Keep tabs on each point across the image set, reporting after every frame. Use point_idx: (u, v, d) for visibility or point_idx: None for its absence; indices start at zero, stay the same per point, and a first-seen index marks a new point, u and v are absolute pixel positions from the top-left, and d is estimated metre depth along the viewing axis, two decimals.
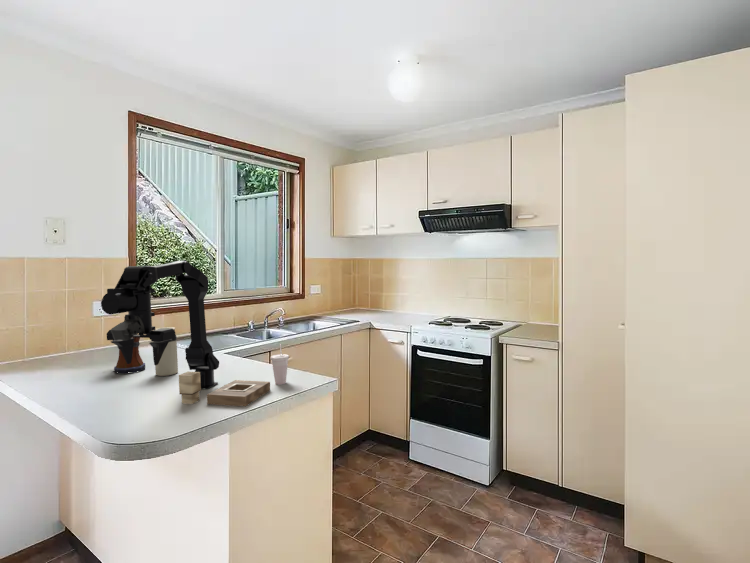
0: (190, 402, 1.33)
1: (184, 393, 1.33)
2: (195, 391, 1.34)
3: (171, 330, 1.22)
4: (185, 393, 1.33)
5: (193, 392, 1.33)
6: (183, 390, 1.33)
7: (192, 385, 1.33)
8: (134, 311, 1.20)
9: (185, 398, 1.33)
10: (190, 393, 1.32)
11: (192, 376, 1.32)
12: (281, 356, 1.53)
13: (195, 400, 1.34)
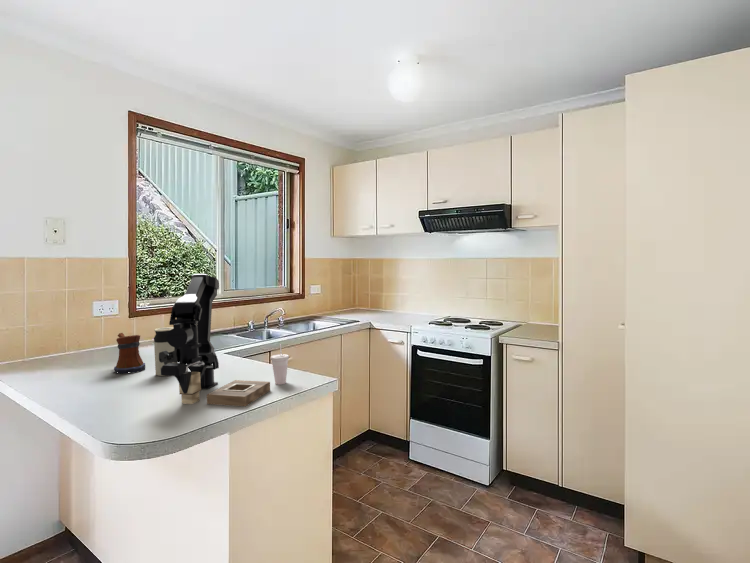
0: (190, 402, 1.33)
1: (184, 393, 1.33)
2: (195, 391, 1.34)
3: (172, 367, 1.25)
4: (185, 393, 1.33)
5: (193, 392, 1.33)
6: None
7: (192, 385, 1.33)
8: None
9: (185, 398, 1.33)
10: (190, 393, 1.32)
11: (192, 376, 1.32)
12: (281, 356, 1.53)
13: (195, 400, 1.34)
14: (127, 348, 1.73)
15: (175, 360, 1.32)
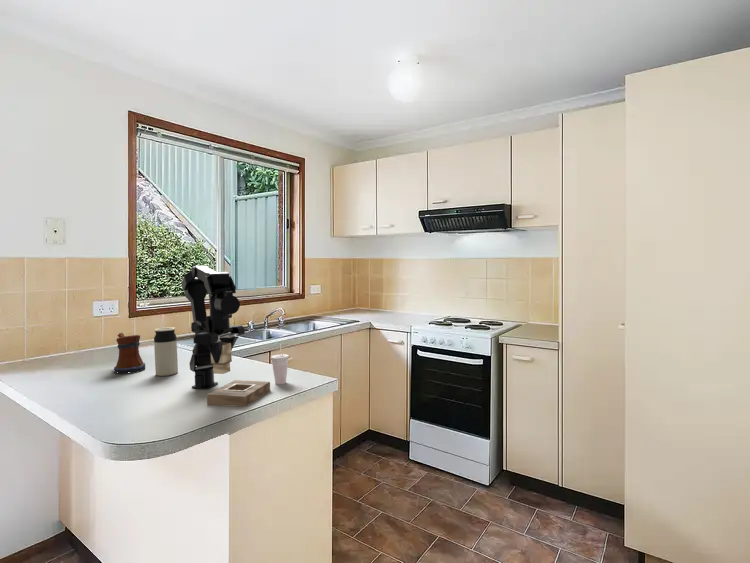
0: (221, 372, 1.35)
1: (216, 363, 1.35)
2: (226, 361, 1.35)
3: (204, 335, 1.27)
4: (217, 363, 1.34)
5: (224, 362, 1.35)
6: None
7: (224, 355, 1.34)
8: None
9: (217, 368, 1.35)
10: (221, 363, 1.34)
11: (223, 346, 1.34)
12: (281, 356, 1.53)
13: (226, 370, 1.36)
14: (127, 348, 1.73)
15: (207, 330, 1.34)
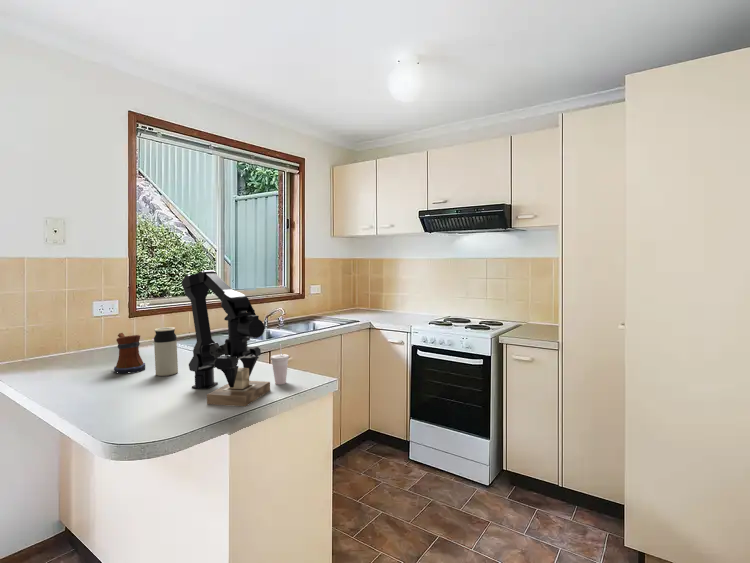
0: None
1: (234, 388, 1.37)
2: (245, 386, 1.38)
3: (225, 359, 1.29)
4: (235, 388, 1.36)
5: (243, 387, 1.37)
6: None
7: (242, 380, 1.36)
8: None
9: None
10: (240, 388, 1.36)
11: (242, 372, 1.36)
12: (281, 356, 1.53)
13: None
14: (127, 348, 1.73)
15: (226, 353, 1.36)
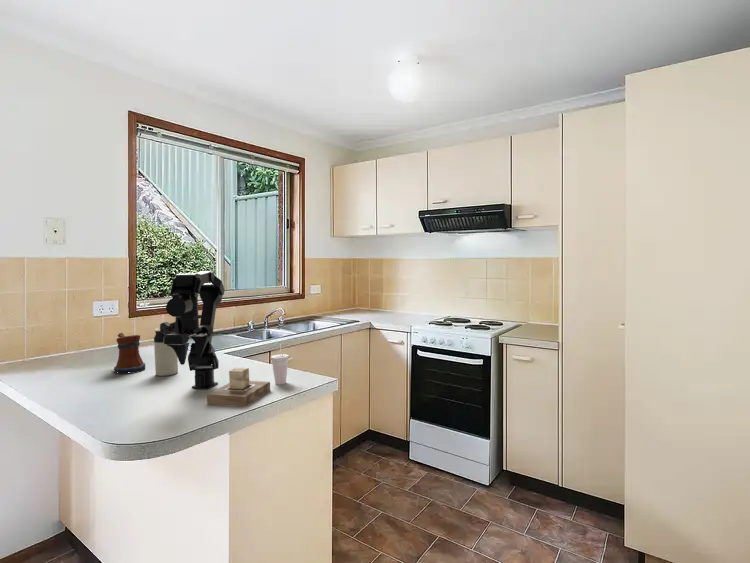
0: None
1: (234, 388, 1.36)
2: (245, 386, 1.38)
3: (175, 336, 1.29)
4: (235, 388, 1.36)
5: (243, 387, 1.37)
6: (233, 385, 1.37)
7: (242, 380, 1.36)
8: None
9: None
10: (240, 388, 1.36)
11: (242, 372, 1.36)
12: (281, 356, 1.53)
13: None
14: (127, 348, 1.73)
15: (176, 331, 1.36)
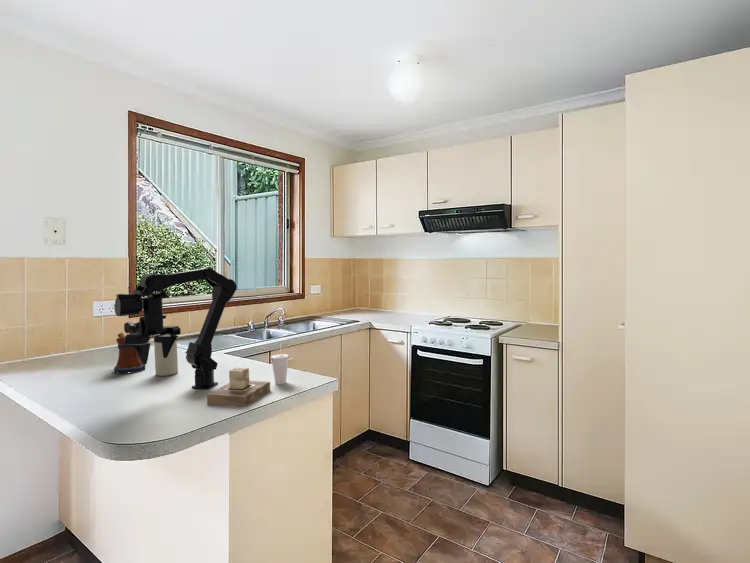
0: None
1: (234, 388, 1.37)
2: (245, 386, 1.38)
3: (135, 336, 1.30)
4: (235, 388, 1.36)
5: (243, 387, 1.37)
6: (233, 385, 1.37)
7: (242, 380, 1.36)
8: None
9: None
10: (240, 388, 1.36)
11: (242, 372, 1.36)
12: (281, 356, 1.53)
13: None
14: (127, 348, 1.73)
15: (140, 331, 1.37)
